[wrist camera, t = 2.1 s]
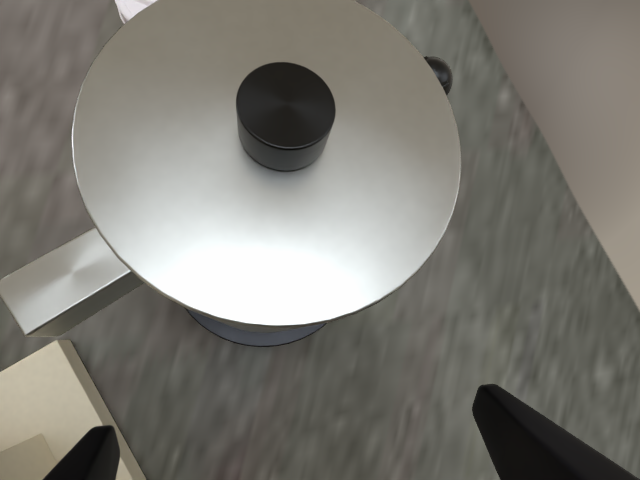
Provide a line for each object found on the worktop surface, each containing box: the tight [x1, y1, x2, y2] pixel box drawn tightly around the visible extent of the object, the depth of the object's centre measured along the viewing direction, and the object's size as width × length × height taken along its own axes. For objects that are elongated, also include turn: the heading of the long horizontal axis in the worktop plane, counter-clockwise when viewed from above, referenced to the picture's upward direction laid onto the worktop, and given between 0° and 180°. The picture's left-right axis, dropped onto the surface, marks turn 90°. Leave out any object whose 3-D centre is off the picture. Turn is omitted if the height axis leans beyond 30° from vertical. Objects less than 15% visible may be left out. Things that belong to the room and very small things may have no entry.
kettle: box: [0, 0, 461, 347], centre depth 17 cm, size 16×12×16 cm
